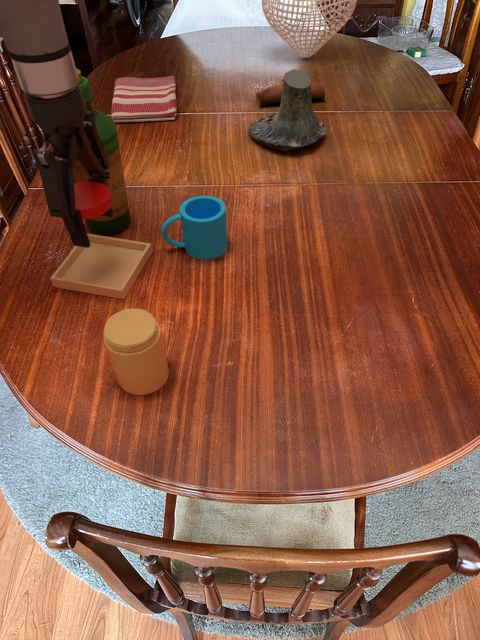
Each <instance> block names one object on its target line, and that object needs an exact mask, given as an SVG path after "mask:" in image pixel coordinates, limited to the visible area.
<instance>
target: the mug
mask: <svg viewBox="0 0 480 640" xmlns="http://www.w3.org/2000/svg"><path fill="white" fill-rule="evenodd" d="M178 220H180V222H181V229H182V230H181V231H182V236H183V237H182V238H183V242H182V241H178V240H174V239H172V238H171V237H170V236H169V235H168V228H169V226H170V225H172V224H173V223H174V222H176V221H178ZM227 223H228V221H227V206H226V204H225V202H224V201H223V200H221V199H220V198H219V197H218V198H217V197H215V196H213V195H198V196H193V197H191V198H188V199H186V200H185V201H183V202H182V203H181V205H180V206H179V213H176V214H174V215H172V216H170V217H169V218H168V219H166V220H165V221H164V222H163V224H162V226H161V236H162V238H163V240H164V241H165V242H166V243H167V244H169V245H171V246H173V247H177V248H184V249H185V250H184V251H185V252H186V253H187V254H188V255H189V256H190V257H192V258H195V259H196V260H197V259H198V260H212V259H216V258H219V257H221V256H222V255H224V254H225V253H226V252H227V250H228V248H229V239H228V224H227Z"/></svg>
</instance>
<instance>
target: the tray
mask: <svg viewBox="0 0 480 640" xmlns="http://www.w3.org/2000/svg"><path fill="white" fill-rule="evenodd" d="M87 235H88V238H89V241H90V247H89V248H86V247H80V246H73V248H72V250H70V252H69V253H68V254H67V255H66V257H65V259H64V260H63V261H62V262H61V263H60V264H59V266H58V267H57V269H56V270H55V271H54V273H53V274H52V275H51V276H50V278H49V280H50V282H51V285H52V286H53V288H57V289H64V290H69V291H74V292H81V293H87V294H91V295H98V296H104V297H108V298H112V299H113V298H114V299H119V300H125V299H126V297H127V295H128V294H129V292H130V290H131V289H132V287H133V285H134V284H135V282H136V280H137V279H138V277H139V276H140V274H141V273H142V271H143V269H144V268H145V266H146V264H147V263H148V262H149V259H150V258H151V257H152V254H153V247H152V243H149V242H143V241H137V240H131V239H124V238H119V237H111V236H107V235H101V234H93V233H87Z"/></svg>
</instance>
